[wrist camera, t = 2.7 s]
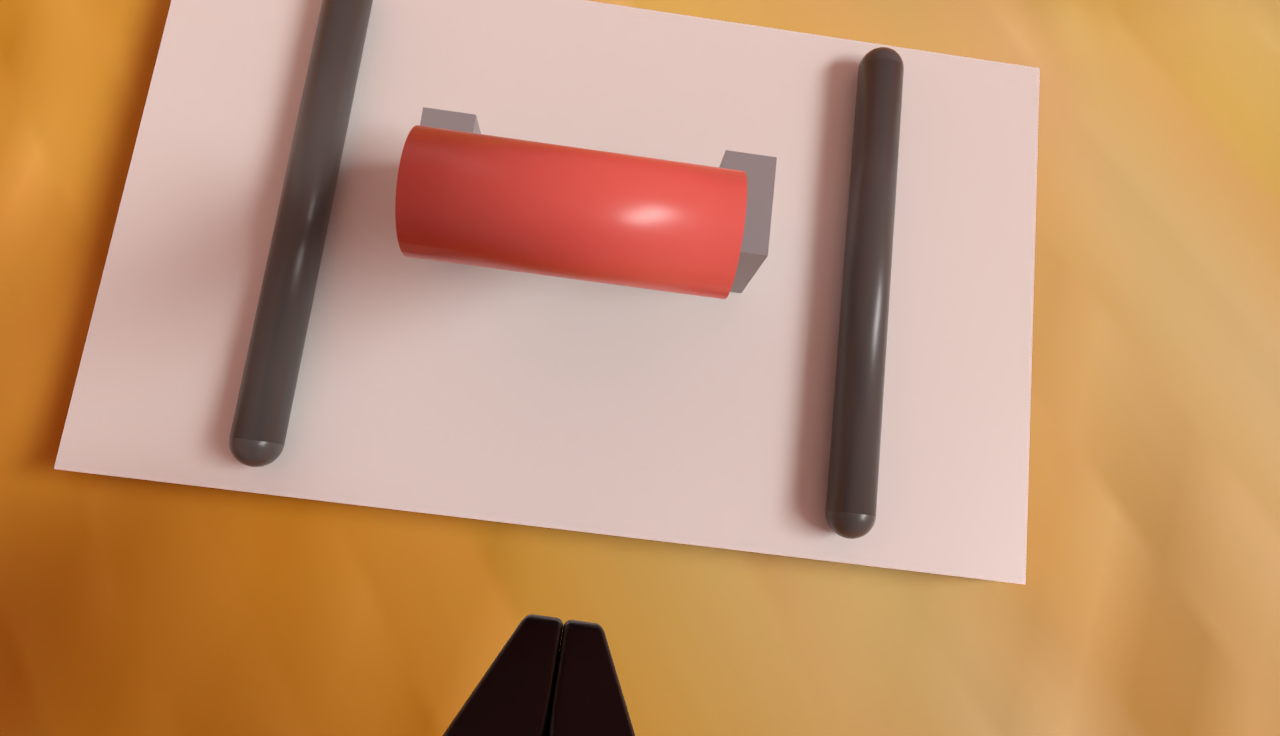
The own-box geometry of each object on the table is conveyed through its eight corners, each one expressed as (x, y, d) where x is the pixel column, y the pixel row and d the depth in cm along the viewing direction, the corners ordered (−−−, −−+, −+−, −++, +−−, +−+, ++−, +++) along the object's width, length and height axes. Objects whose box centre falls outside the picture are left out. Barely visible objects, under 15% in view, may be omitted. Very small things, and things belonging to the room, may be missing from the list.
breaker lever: (687, 244, 17) (731, 309, 10) (494, 218, 17) (391, 264, 9) (698, 165, 16) (753, 171, 9) (501, 138, 16) (399, 122, 9)
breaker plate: (997, 579, 18) (1102, 596, 15) (89, 472, 17) (-46, 460, 14) (1013, 93, 21) (1109, 0, 17) (210, -25, 20) (123, -152, 16)
